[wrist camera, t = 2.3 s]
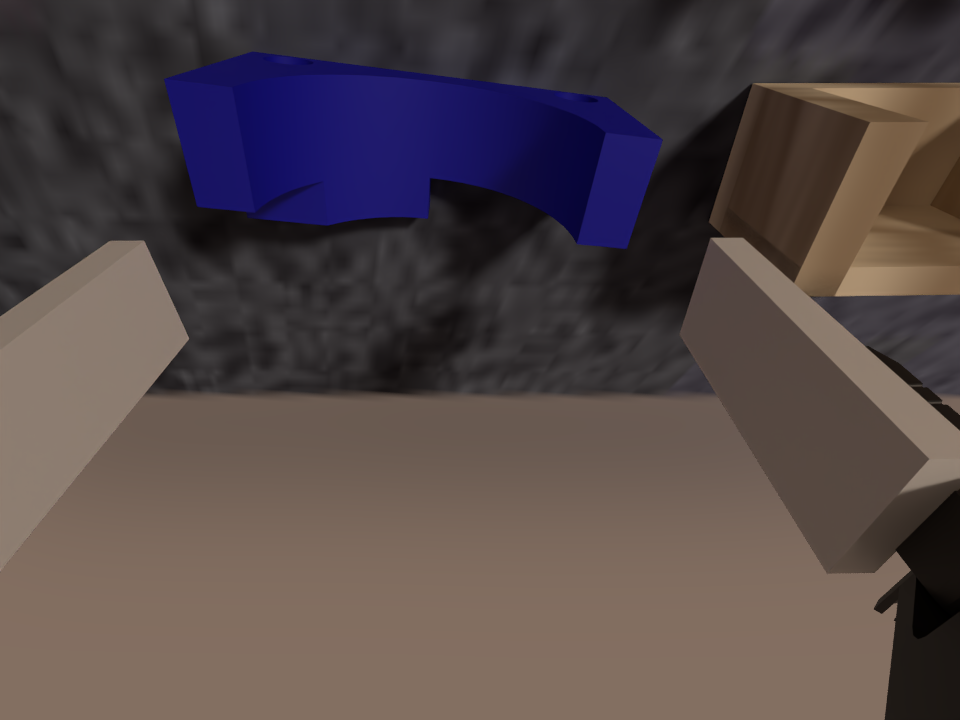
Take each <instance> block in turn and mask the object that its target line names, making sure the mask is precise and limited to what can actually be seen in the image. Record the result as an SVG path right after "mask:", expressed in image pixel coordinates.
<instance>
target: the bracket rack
mask: <svg viewBox="0 0 960 720" xmlns="http://www.w3.org/2000/svg"><path fill="white" fill-rule="evenodd" d="M709 223H710V224H711V225H712V226H713V227H714V228H716V229H717V230H718V231H719V232H720V233H721V234H722V235H723V236H724V237H725V238H744V239H745V240H746V241H747V242H748V243H749V244H751V245H752V246H753V247H754V248H755V249H756V250H757V251H758V252H760V253H761V254H762V255H763V256H764V257H765V258H766V259H767V260H768V261H770V262H771V263H772V264H773V265H774V266H775V267H776V268H777V269H779V270H780V271H781V272H782V273H783V274H784V275H785V276H786V277H788V278H789V279H790V280H791V281H792V282H793V283H794V284H795V285H797V286H798V287H799V288H800V289H801V290H802V291H803V292H804V293H806V294H807V295H808V296H809V297H812V296H881V295H951V294H960V83H753V84H752V87H751V90H750V93H749V96H748V100H747V103H746V106H745V109H744V112H743V115H742V118H741V122H740V125H739V128H738V131H737V134H736V137H735V141H734V144H733V147H732V150H731V153H730V156H729V160H728V163H727V166H726V169H725V172H724V175H723V178H722V182H721V185H720V188H719V191H718V194H717V197H716V201H715V204H714V207H713V210H712V213H711V216H710V220H709Z"/></svg>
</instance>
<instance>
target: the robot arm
mask: <svg viewBox="0 0 960 720" xmlns="http://www.w3.org/2000/svg"><path fill="white" fill-rule="evenodd" d="M680 336H681V338H682V339H683V341H684V343H685V344H686V346H687V348H688V349H689V351H690V352H691V354H692V356H693V357H694V359H695V361H696V362H697V364H698V365H699V367H700V369H701V370H702V372H703V373H704V375H705V377H706V378H707V380H708V382H709V383H710V385H711V386H712V388H713V390H714V391H715V393H716V395H717V396H718V398H719V399H720V401H721V402H722V404H723V406H724V407H725V409H726V411H727V412H728V414H729V416H730V417H731V419H732V420H733V422H734V424H735V425H736V427H737V429H738V430H739V432H740V433H741V435H742V437H743V438H744V440H745V441H746V442H747V445H748V446H749V448H750V450H751V451H752V453H753V454H754V456H755V458H756V459H757V461H758V462H759V464H760V466H761V467H762V469H763V471H764V472H765V474H766V475H767V477H768V479H769V480H770V482H771V483H772V485H773V487H774V488H775V490H776V491H777V493H778V495H779V496H780V498H781V500H782V501H783V503H784V504H785V506H786V508H787V509H788V511H789V513H790V514H791V516H792V518H793V519H794V521H795V522H796V524H797V526H798V527H799V529H800V530H801V532H802V534H803V535H804V537H805V539H806V540H807V542H808V543H809V545H810V547H811V548H812V550H813V551H814V553H815V554H816V556H817V558H818V560H819V561H820V563H821V565H822V566H823V568H824V569H825V571H826V572H827V573H875V572H876V571H877V570H878V569H879V568H880V567H881V566H882V565H883V564H884V563H885V562H886V561H887V560H888V559H889V558H890V557H891V556H892V555H893V554H894V553H895V552H896V551H897V552H898V554H899V555H900V556H901V558H902V559H903V560H904V561H905V563H906V564H907V565H908V567H909V568H910V569H911V571H910V572H909V573H908V574H907V575H906V576H904V577H903V578H902V579H901V580H900V581H899V582H898V583H897V584H895V585H894V586H893V587H892V588H891V589H890V590H889V591H888V592H887V593H886V594H884V595H883V596H882V597H881V598H880V599H879V600H878V602H877V604H876V606H875V607H874V610H876V611H878V612H880V613H881V614H882V613H883V612H885V611H886V610H887V609H888V608H889V607H890V606H891V605H893V604H894V603H898V605H897V614H896V618H895V619H894V621H896V623H895V632H894V641H893V650H892V659H891V668H890V677H889V686H888V695H887V704H886V713H885V720H960V415H959V414H958V413H956V412H955V411H954V410H953V409H952V408H951V407H949V406H948V405H943V404H942V400H941V399H940V398H939V397H938V396H937V395H935V394H934V393H933V392H932V391H931V390H930V389H929V388H927V387H925V388H923V387H922V384H923V383H922V382H920V381H919V380H918V379H917V378H916V377H915V376H913V375H912V374H911V373H910V372H909V371H908V370H906V369H905V368H904V367H903V366H902V365H901V364H899V363H898V362H896V361H894V360H892V359H890V358H889V357H887V356H885V355H883V354H881V353H880V352H878V351H876V350H874V349H872V348H870V347H869V346H864V345H863V344H862V343H861V342H859V341H858V340H857V339H856V338H855V337H854V336H853V335H852V334H851V333H849V332H848V331H847V330H846V329H845V328H844V327H843V326H842V325H840V324H839V323H838V322H837V321H836V320H835V319H834V318H833V317H831V316H830V315H829V314H828V313H827V312H826V311H825V310H824V309H822V308H821V307H820V306H819V305H818V304H817V303H816V302H815V301H813V300H812V299H811V298H810V297H809V296H808V295H807V294H806V293H804V292H803V291H802V290H801V289H800V288H799V287H798V286H797V285H795V284H794V283H793V282H792V281H791V280H790V279H789V278H788V277H786V276H785V275H784V274H783V273H782V272H781V271H780V270H779V269H777V268H776V267H775V266H774V265H773V264H772V263H771V262H770V261H768V260H767V259H766V258H765V257H764V256H763V255H762V254H761V253H760V252H758V251H757V250H756V249H755V248H754V247H753V246H752V245H751V244H749V243H748V242H747V241H746V240H745V239H744V238H710V241H709V244H708V247H707V250H706V254H705V257H704V260H703V263H702V266H701V269H700V272H699V275H698V279H697V282H696V285H695V288H694V291H693V294H692V297H691V300H690V303H689V307H688V310H687V313H686V316H685V319H684V322H683V325H682V328H681V332H680ZM188 340H189V337H188V335H187V333H186V331H185V328H184V326H183V324H182V322H181V320H180V318H179V315H178V313H177V311H176V309H175V307H174V305H173V302H172V300H171V298H170V296H169V294H168V292H167V289H166V287H165V285H164V283H163V281H162V279H161V276H160V274H159V272H158V270H157V268H156V266H155V264H154V261H153V259H152V257H151V255H150V253H149V251H148V248H147V246H146V244H145V242H144V241H109V242H108V243H106V244H105V245H104V246H102V247H101V248H99V249H98V250H96V251H95V252H93V253H92V254H91V255H89V256H88V257H86V258H85V259H83V260H82V261H80V262H79V263H77V264H76V265H75V266H73V267H72V268H70V269H69V270H67V271H66V272H64V273H63V274H61V275H60V276H59V277H57V278H56V279H54V280H53V281H51V282H50V283H48V284H47V285H45V286H44V287H43V288H41V289H40V290H38V291H37V292H35V293H34V294H32V295H31V296H29V297H28V298H27V299H25V300H24V301H22V302H21V303H19V304H18V305H16V306H15V307H13V308H12V309H11V310H9V311H8V312H6V313H5V314H3V315H2V316H0V571H1V570H2V569H3V567H4V566H5V565H6V564H7V563H8V561H9V560H10V559H11V558H12V556H13V555H14V554H15V553H16V552H17V550H18V549H19V548H20V547H21V545H22V544H23V543H24V542H25V540H26V539H27V538H28V537H29V535H30V534H31V533H32V532H33V531H34V529H35V528H36V527H37V526H38V524H39V523H40V522H41V521H42V520H43V518H44V517H45V516H46V515H47V513H48V512H49V511H50V510H51V508H52V507H53V506H54V504H56V502H57V501H58V500H59V499H60V497H61V496H62V495H63V493H64V492H65V491H66V490H67V489H68V488H69V486H70V485H71V484H72V483H73V481H74V480H75V479H76V478H77V476H78V475H79V474H80V473H81V471H82V470H83V469H84V468H85V467H86V465H87V464H88V463H89V462H90V460H91V459H92V458H93V457H94V456H95V454H96V453H97V452H98V451H99V449H100V448H101V447H102V446H103V444H104V443H105V442H106V441H107V439H108V438H109V437H110V436H111V435H112V433H113V432H114V431H115V429H116V428H117V427H118V426H119V425H120V423H121V422H122V421H123V419H124V418H125V417H126V416H127V415H128V414H129V412H130V411H131V410H132V409H133V407H134V406H135V405H136V404H137V403H138V401H139V400H140V399H141V398H142V396H143V395H144V394H145V393H146V391H147V390H148V389H149V388H150V387H151V385H152V384H153V383H154V382H155V380H156V379H157V378H158V377H159V375H160V374H161V373H162V372H163V371H164V369H165V368H166V367H167V366H168V364H169V363H170V362H171V361H172V359H173V358H174V357H175V356H176V354H177V353H178V352H179V351H180V350H181V348H182V347H183V346H184V345H185V343H186V342H187V341H188Z"/></svg>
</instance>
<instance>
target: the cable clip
mask: <svg viewBox="0 0 960 720" xmlns="http://www.w3.org/2000/svg"><path fill="white" fill-rule="evenodd" d="M164 80H165V84H166V88H167V92H168V96H169V99H170V103H171V107H172V111H173V115H174V119H175V123H176V126H177V130H178V134H179V138H180V142H181V146H182V150H183V153H184V157H185V161H186V165H187V169H188V173H189V177H190V180H191V184H192V188H193V192H194V196H195V200H196V204H197V207H204V208H214V209H224V210H234V211H244V212H247V218H254V219H264V220H275V221H285V222H295V223H306V224H316V225H326V226H328V225H332V224H336V223H341V222H346V221H352V220H359V219H367V218H380V217H413V218H427V219H428V214H429V207H430V189H431V178H434V179H442V180H449V181H455V182H460V183H465V184H470V185H474V186H479V187H482V188H486V189H490V190H493V191H497V192H500V193H503V194H506V195H509V196H511V197H514V198H517V199H519V200H521V201H524V202H526V203H528V204H530V205H532V206H534V207H536V208H538V209H540V210H542V211H544V212H545V213H547V214H548V215H550V216H551V217H553V218H554V219H555V220H557V221H558V222H559V223H561V224H562V225H563V226H564V227H565V228H566V229H567V230H568V231H569V233H570V234H571V235H572V236H573V238H574V240H575V242H576V243H577V244H582V245H592V246H602V247H612V248H623V249H627V246H628V243H629V240H630V237H631V234H632V231H633V228H634V225H635V222H636V219H637V216H638V213H639V210H640V207H641V204H642V201H643V198H644V195H645V192H646V189H647V186H648V183H649V180H650V177H651V174H652V171H653V168H654V165H655V162H656V159H657V156H658V153H659V150H660V147H661V144H662V141H663V139H661V138H660V137H659V136H657V135H656V134H655V133H653V132H652V131H651V130H649V129H648V128H647V127H645V126H644V125H643V124H641V123H640V122H639V121H637V120H636V119H635V118H634V117H632V116H631V115H630V114H628V113H627V112H626V111H624V110H623V109H622V108H620V107H619V106H618V105H616V104H615V103H614V102H612V101H611V100H610V99H608V98H607V97H599V96H592V95H584V94H576V93H568V92H561V91H553V90H545V89H537V88H530V87H522V86H514V85H506V84H499V83H491V82H483V81H475V80H468V79H460V78H452V77H444V76H437V75H429V74H421V73H414V72H406V71H398V70H390V69H383V68H375V67H367V66H359V65H352V64H344V63H336V62H328V61H321V60H313V59H305V58H297V57H290V56H282V55H274V54H266V53H259V52H250V53H247V54H243V55H240V56H237V57H234V58H230V59H227V60H224V61H221V62H217V63H214V64H211V65H208V66H204V67H201V68H198V69H195V70H191V71H188V72H185V73H182V74H179V75H175V76H172V77H169V78H166V79H164Z"/></svg>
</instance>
